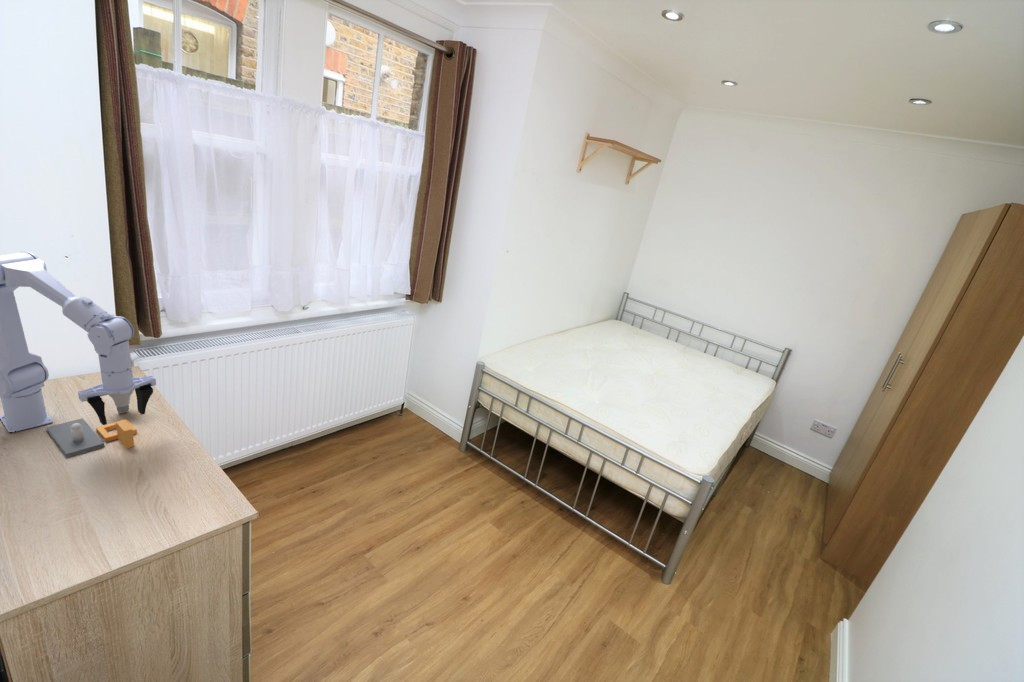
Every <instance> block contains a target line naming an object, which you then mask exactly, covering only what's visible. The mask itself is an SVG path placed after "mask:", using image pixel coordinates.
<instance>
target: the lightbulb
mask: <svg viewBox="0 0 1024 682" xmlns="http://www.w3.org/2000/svg"><path fill="white" fill-rule="evenodd" d="M134 391H135V389H132V390H130V392H128V393H124V394H119V393H114V394H109V395H108V396H109V397H110V398H111V399H112V400H113V402H114V406H115V407H116V412H117V413H121V414H126V413H127V412H129V410H130V400H131V396H132V395H133V393H134Z"/></svg>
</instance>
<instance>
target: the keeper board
mask: <svg viewBox="0 0 1024 682" xmlns="http://www.w3.org/2000/svg"><path fill="white" fill-rule="evenodd" d="M45 429H46V432H47V433H48V434H49V435H50V437H51V439H53V441H54V442H55V444H56V445H57V446H58V448H59V449H60V450H61V452H62V454H64V456H65V458H71V457H74V456H77V455H80V454H84V453H88V452H92V451H94V450H97V449H101V448H104V447H105V443H104V440H103V439H101V438H100V436H98V433H97V432H95V431H94V429H93V428H92V427H91V426H90V425H89V424H88V423H87V421H86V420H85V419H84V418H78V419H74V420H70V421H67V422H62V423H58V424H54V425H49V426H46V427H45Z"/></svg>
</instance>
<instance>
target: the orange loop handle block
mask: <svg viewBox="0 0 1024 682" xmlns="http://www.w3.org/2000/svg"><path fill="white" fill-rule="evenodd" d="M95 429H96V434H97V435H99V437H101V438H102V440H103V442H105V443H109V442H112V441H116V440H118V441H119V442H120V443H121V445H123V447H125V448H126V449H129V448H133V447H135V440H134V435H136V434H138V432H137V428H136V427H134V425H133V424H132V423H131V422H130V421H129V420H128V419H121V420H117V421H115V422H111V423H108V424H105V425H101V426H99V425H98V426H96V427H95ZM112 429H113V430H116V432H114V433H109V432H110V431H112Z"/></svg>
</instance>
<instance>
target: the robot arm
mask: <svg viewBox="0 0 1024 682" xmlns="http://www.w3.org/2000/svg"><path fill="white" fill-rule="evenodd" d="M20 287H21V288H23V287H24V288H26V287H27V288H28V287H29V288H31V289H32V290H35V291H36V292H37V293H39V294H40V295H42V296H44V297H46V298H47V299H49V300H50V301H52V302H54V303H55V304H57V305H58V306H60V307H61V308H62V314H63V316H65V317H66V318H67V319H69V320H70V321H71V322H73V323H74V324H76V325H77V326H78V327H79V328H81V329H83V330H84V331H86V332H87V338H88V340H89V341H90V342H91V344H92V345H93V347H94V351H95V352H96V354H97V355H98V363H99V369H100V376H101V383H100V384H98V385H95V386H92V387H89V388H86V389H83V390H79V391H77V393H78V395H77V396H78V399H79V400H80V402H81V403H84V402H87V403H88V404H89V405H90V406H91V408H92V409H93V410H94V412H95V414H96V415H97V417H98V420H99V423H100V424H101V426H103V425H107V421H108V420H107V417H106V411H105V410H106V408H105V407H106V406H105V404H106V402H104V400H103V398H102V397H103V396H109V394H114V393H119V394H124V393H128V392H130V390H132V389H134V391H135V396H136V403H137V411H138V413H139V414H140V415H141V416H144V415H145V414H146V408H147V404H148V402H149V400H150V398H151V396H152V395H153V394H154V388H153V386H157V379H156V378H155V377H154V375H150V376H149V375H148V376H143V377H142V376H140V377H134V373H133V367H132V359H131V350H130V342H129V340H130V339H132V338H133V337H134V334H135V329H134V326H133V324H132V323H131V322H130V321H129V320H128V319H127V318H126V317H124V316H120V315H119V316H117V315H116V314H110V313H109V312H108V311H106V310H105V309H103V308H102V307H101V306H99V305H97V304H96V303H95V302H94V301H93V300H92V299H90V298H88V297H85V296H76V295H75V294H74V293H73V292H72V291H70V289H68V288H67V287H66V286H65V285H63V284H62V283H61V282H60V281H59V280H57V279H56V278H55V277H54V276H53V275H52V274H50V273H49V272H48V269H47V266H46V263H45V261H43V260H42V259H41V258H39V256H37V255H36V254H34V253H33V252H30V251H28V250H27V251H26V250H25V251H20V252H14V253H7V254H6V253H5V254H0V401H1V402H0V403H1V405H2V410H3V414H2V415H0V419H1V420H0V421H1V423H2V422H3V423H2V424H3V426H4V425H5V426H4V427H5V429H6V431H7V432H8V433H9V432H12V433H16V432H19V431H20V432H21V431H24V430H28V429H32V428H36V427H40V426H45V425H48V424H52V423H54V419H52V417H51V416H50V415H49V414H48V412H47V410H46V405H45V400H44V395H43V390H42V388H43V387H45V382H46V381H48V380H49V375H50V374H49V369H48V367H47V366H46V365H45V364H44V362H43V359H42V357H41V355H38V354H36V353H33V352H29V348H28V344H27V340H26V335H25V332H24V328H23V324H22V320H21V317H20V313H19V309H18V304H17V300H16V296H15V293H14V292H15V291H16V289H18V288H20ZM15 431H16V432H15Z"/></svg>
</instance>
